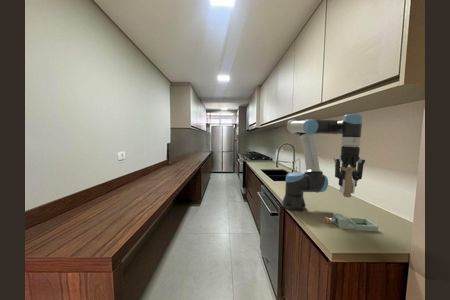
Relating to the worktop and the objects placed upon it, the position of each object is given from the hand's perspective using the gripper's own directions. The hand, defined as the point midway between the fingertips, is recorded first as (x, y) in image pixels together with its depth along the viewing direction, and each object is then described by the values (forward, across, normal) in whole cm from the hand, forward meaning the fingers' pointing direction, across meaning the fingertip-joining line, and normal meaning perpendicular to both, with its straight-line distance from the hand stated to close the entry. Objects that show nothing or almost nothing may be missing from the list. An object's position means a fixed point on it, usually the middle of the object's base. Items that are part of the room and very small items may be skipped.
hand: (346, 192), depth 92 cm
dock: (+21, +9, +7) cm, 24 cm away
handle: (+2, 0, 0) cm, 2 cm away
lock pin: (+20, -2, +7) cm, 21 cm away
